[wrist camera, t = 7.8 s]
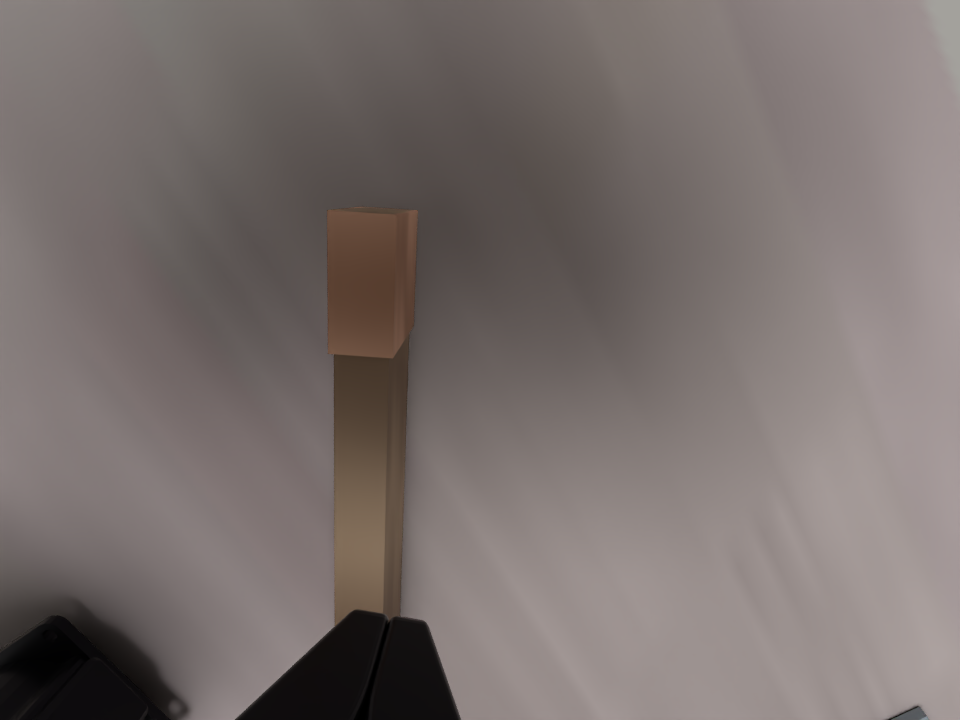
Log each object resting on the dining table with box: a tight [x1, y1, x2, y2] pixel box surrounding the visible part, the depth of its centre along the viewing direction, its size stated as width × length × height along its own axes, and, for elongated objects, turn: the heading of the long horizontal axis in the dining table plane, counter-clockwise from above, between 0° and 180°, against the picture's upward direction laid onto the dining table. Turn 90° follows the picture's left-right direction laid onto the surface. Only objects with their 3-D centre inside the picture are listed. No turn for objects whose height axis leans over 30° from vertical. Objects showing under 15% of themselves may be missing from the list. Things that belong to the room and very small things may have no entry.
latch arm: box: [327, 207, 418, 626], centre depth 17 cm, size 23×2×5 cm, turn 176°
